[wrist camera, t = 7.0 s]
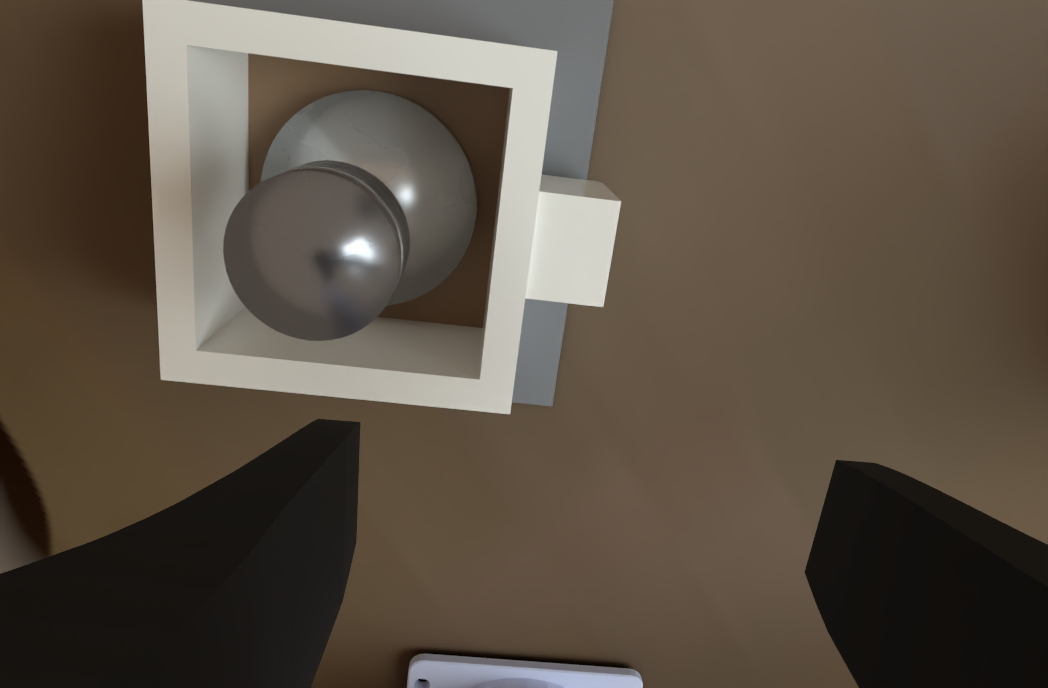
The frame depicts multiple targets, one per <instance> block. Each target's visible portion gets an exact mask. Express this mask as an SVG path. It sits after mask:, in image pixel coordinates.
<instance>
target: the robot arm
mask: <svg viewBox="0 0 1048 688" xmlns="http://www.w3.org/2000/svg"><path fill="white" fill-rule="evenodd" d="M359 443H360V422H350V421H337V420H325V419H317V420H315V421H313V422H311V423H310V424H308V425H306V426H305V427H303V428H302V429H300V430H299V431H297V432H295V433H294V434H292V435H291V436H289V437H288V438H286V439H285V440H283V441H282V442H280V443H279V444H277V445H276V446H274V447H272V448H271V449H269V450H268V451H266V452H265V453H263V454H261V455H260V456H258V457H257V458H255V459H253V460H252V461H250V462H249V463H247V464H246V465H244V466H242V467H241V468H239V469H238V470H236V471H234V472H232V473H231V474H229V475H227V476H225V477H223V478H222V479H220V480H218V481H216V482H215V483H213V484H211V485H209V486H207V487H206V488H204V489H202V490H200V491H198V492H197V493H195V494H193V495H191V496H189V497H188V498H186V499H184V500H182V501H181V502H179V503H177V504H175V505H173V506H171V507H169V508H167V509H165V510H163V511H160V512H158V513H156V514H154V515H152V516H150V517H148V518H146V519H143V520H141V521H139V522H137V523H134V524H132V525H130V526H127V527H125V528H123V529H121V530H118V531H116V532H114V533H111V534H109V535H107V536H104V537H102V538H99V539H97V540H94V541H92V542H89V543H86V544H84V545H81V546H78V547H75V548H72V549H70V550H67V551H64V552H61V553H58V554H56V555H53V556H50V557H47V558H45V559H42V560H39V561H36V562H33V563H31V564H28V565H25V566H22V567H19V568H17V569H14V570H11V571H8V572H4V573H2V574H0V688H310V687H311V685H312V682H313V679H314V677H315V674H316V671H317V669H318V666H319V663H320V661H321V658H322V655H323V653H324V650H325V647H326V645H327V642H328V639H329V637H330V634H331V631H332V628H333V626H334V623H335V620H336V618H337V615H338V612H339V609H340V607H341V604H342V601H343V597H344V593H345V588H346V584H347V580H348V576H349V572H350V567H351V563H352V558H353V554H354V550H355V545H356V534H357V504H358V474H359ZM805 574H806V577H807V580H808V583H809V585H810V588H811V591H812V593H813V596H814V599H815V602H816V604H817V607H818V609H819V611H820V614H821V616H822V619H823V621H824V623H825V626H826V628H827V631H828V633H829V634H830V636H831V638H832V640H833V642H834V644H835V646H836V647H837V649H838V651H839V653H840V654H841V656H842V658H843V660H844V662H845V663H846V665H847V667H848V669H849V671H850V672H851V674H852V676H853V678H854V679H855V681H856V683H857V685H858V686H859V688H1048V545H1047V544H1045V543H1043V542H1041V541H1039V540H1037V539H1035V538H1033V537H1031V536H1028V535H1026V534H1024V533H1022V532H1020V531H1018V530H1016V529H1014V528H1012V527H1010V526H1008V525H1006V524H1004V523H1002V522H1000V521H998V520H996V519H994V518H992V517H990V516H988V515H987V514H985V513H983V512H981V511H979V510H977V509H975V508H973V507H971V506H969V505H967V504H965V503H963V502H961V501H959V500H957V499H955V498H953V497H951V496H949V495H947V494H945V493H943V492H941V491H939V490H937V489H935V488H933V487H931V486H929V485H927V484H924V483H922V482H920V481H918V480H916V479H914V478H912V477H909V476H907V475H905V474H903V473H900V472H898V471H895V470H893V469H890V468H888V467H885V466H882V465H879V464H876V463H868V462H855V461H842V460H836V462H835V466H834V470H833V473H832V477H831V480H830V484H829V487H828V491H827V495H826V498H825V502H824V505H823V509H822V512H821V516H820V520H819V523H818V527H817V530H816V534H815V537H814V541H813V545H812V548H811V552H810V555H809V559H808V562H807V566H806V570H805ZM418 679H426V680H427V681H425V682H422V681H418ZM407 688H643V683H642V679H641V676H640V674H639V672H637V671H636V670H633V669H628V668H615V667H601V666H587V665H574V664H560V663H546V662H533V661H519V660H506V659H492V658H478V657H465V656H451V655H437V654H419V655H416V656H414V657H413V658H412V659H411V661H410V664H409V670H408V680H407Z"/></svg>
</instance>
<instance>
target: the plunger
mask: <svg viewBox="0 0 1048 688" xmlns="http://www.w3.org/2000/svg"><path fill="white" fill-rule="evenodd" d="M476 214H477V193H476V184H475V180H474V175H473V171H472V169H471V166H470V163H469V160H468V158H467V156H466V154H465V152H464V150H463V148H462V146H461V145H460V143H459V142H458V140H457V139H456V138H455V136H454V135H453V133H452V132H451V131H450V130H449V129H448V128H447V127H446V125H445V124H444V123H443V122H442V121H440V120H439V119H438V118H437V117H436V116H435V115H434V114H432V113H431V112H429V111H428V110H426V109H425V108H423V107H422V106H420V105H419V104H417V103H415V102H413V101H411V100H409V99H406V98H404V97H401V96H398V95H395V94H391V93H386V92H381V91H371V90H358V91H345V92H341V93H336V94H332V95H329V96H326V97H324V98H321V99H318V100H316V101H315V102H313V103H311V104H309V105H307V106H305V107H304V108H303V109H301V110H300V111H299V112H297V113H296V114H295V115H294V116H293V117H292V118H291V119H290V120H289V121H288V122H287V123H286V124H285V125H284V126H283V127H282V129H281V130H280V131H279V133H278V134H277V136H276V137H275V139H274V141H273V143H272V144H271V146H270V148H269V150H268V153H267V156H266V159H265V162H264V166H263V170H262V175H261V183H259V184H258V185H256V186H255V187H254V188H252V189H251V190H250V191H248V192H247V193H246V194H245V195H244V196H243V197H242V198H241V200H240V201H239V202H238V204H237V205H236V206H235V208H234V210H233V212H232V214H231V215H230V217H229V220H228V223H227V226H226V229H225V234H224V241H223V255H224V263H225V268H226V272H227V275H228V278H229V281H230V283H231V285H232V287H233V289H234V291H235V293H236V294H237V296H238V297H239V299H240V300H241V302H242V303H243V304H244V306H245V307H246V308H247V309H248V310H249V311H250V312H251V313H252V314H253V315H254V316H255V317H256V318H257V319H259V320H260V321H261V322H263V323H264V324H266V325H267V326H269V327H270V328H272V329H274V330H276V331H278V332H280V333H282V334H285V335H287V336H291V337H294V338H298V339H303V340H309V341H326V340H334V339H339V338H343V337H346V336H349V335H352V334H354V333H356V332H358V331H360V330H361V329H363V328H364V327H366V326H367V325H369V324H370V323H371V322H372V321H373V320H375V319H376V318H377V317H378V316H379V314H380V313H381V312H382V311H383V310H384V308H385V307H386V306H388V305H394V304H399V303H404V302H407V301H410V300H412V299H415V298H418V297H420V296H422V295H424V294H426V293H428V292H429V291H431V290H432V289H434V288H435V287H436V286H438V285H439V284H440V283H441V282H443V281H444V280H445V279H446V278H447V277H448V276H449V275H450V274H451V273H452V271H453V270H454V269H455V268H456V267H457V265H458V264H459V262H460V261H461V259H462V258H463V256H464V254H465V252H466V250H467V248H468V246H469V243H470V240H471V237H472V234H473V231H474V226H475V220H476Z"/></svg>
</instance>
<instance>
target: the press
mask: <svg viewBox="0 0 1048 688" xmlns="http://www.w3.org/2000/svg"><path fill="white" fill-rule="evenodd" d="M142 1H143V21H144V42H145V63H146V84H147V105H148V125H149V146H150V167H151V188H152V209H153V229H154V250H155V271H156V292H157V312H158V333H159V354H160V375H161V380H169V381H179V382H189V383H199V384H209V385H219V386H229V387H239V388H250V389H260V390H270V391H280V392H290V393H300V394H310V395H320V396H331V397H341V398H351V399H361V400H371V401H381V402H391V403H401V404H412V405H422V406H432V407H442V408H452V409H462V410H472V411H482V412H492V413H503V414H510V411H511V403H512V402H514V403H524V404H534V405H544V406H552V405H553V398H554V392H555V385H556V378H557V372H558V365H559V359H560V352H561V345H562V339H563V332H564V326H565V319H566V313H567V306H568V303H571V304H580V305H589V306H598V307H603V305H604V300H605V294H606V288H607V282H608V276H609V270H610V264H611V258H612V252H613V246H614V241H615V235H616V229H617V223H618V217H619V211H620V205H621V201H620V200H619V199H618V198H617V197H616V196H615V195H614V194H613V193H612V192H611V191H610V190H609V189H608V188H607V187H606V186H605V185H604V184H603V183H602V182H598V181H590V180H587V174H588V168H589V161H590V155H591V148H592V142H593V135H594V128H595V122H596V115H597V109H598V102H599V96H600V89H601V82H602V76H603V69H604V63H605V56H606V50H607V43H608V36H609V30H610V23H611V17H612V10H613V3H614V0H142ZM358 90H371V91H381V92H386V93H391V94H395V95H398V96H401V97H404V98H406V99H409V100H411V101H413V102H415V103H417V104H419V105H420V106H422V107H423V108H425V109H426V110H428V111H429V112H431V113H432V114H434V115H435V116H436V117H437V118H438V119H439V120H440V121H442V122H443V123H444V124H445V125H446V127H447V128H448V129H449V130H450V131H451V132H452V133H453V135H454V136H455V138H456V139H457V140H458V142H459V143H460V145H461V146H462V148H463V150H464V152H465V154H466V156H467V158H468V160H469V163H470V166H471V169H472V171H473V175H474V180H475V184H476V193H477V214H476V220H475V226H474V231H473V234H472V237H471V240H470V243H469V246H468V248H467V250H466V252H465V254H464V256H463V258H462V259H461V261H460V262H459V264H458V265H457V267H456V268H455V269H454V270H453V271H452V273H451V274H450V275H449V276H448V277H447V278H446V279H445V280H444V281H443V282H441V283H440V284H439V285H438V286H436V287H435V288H434V289H432V290H431V291H429V292H428V293H426V294H424V295H422V296H420V297H418V298H415V299H412V300H410V301H407V302H404V303H399V304H394V305H388V306H386V307H385V308H384V310H383V311H382V312H381V313H380V314H379V316H378V317H377V318H376V319H375V320H373V321H372V322H371V323H370V324H369V325H367V326H366V327H364V328H363V329H361V330H360V331H358V332H356V333H354V334H352V335H349V336H346V337H343V338H339V339H334V340H326V341H309V340H303V339H298V338H294V337H291V336H287V335H285V334H282V333H280V332H278V331H276V330H274V329H272V328H270V327H269V326H267V325H266V324H264V323H263V322H261V321H260V320H259V319H257V318H256V317H255V316H254V315H253V314H252V313H251V312H250V311H249V310H248V309H247V308H246V307H245V306H244V304H243V303H242V302H241V300H240V299H239V297H238V296H237V294H236V293H235V291H234V289H233V287H232V285H231V283H230V281H229V278H228V275H227V272H226V268H225V263H224V255H223V241H224V234H225V229H226V226H227V223H228V220H229V217H230V215H231V214H232V212H233V210H234V208H235V206H236V205H237V204H238V202H239V201H240V200H241V198H242V197H243V196H244V195H245V194H246V193H247V192H248V191H250V190H251V189H252V188H254V187H255V186H256V185H258V184H259V183H261V175H262V170H263V166H264V162H265V159H266V156H267V153H268V150H269V148H270V146H271V144H272V143H273V141H274V139H275V137H276V136H277V134H278V133H279V131H280V130H281V129H282V127H283V126H284V125H285V124H286V123H287V122H288V121H289V120H290V119H291V118H292V117H293V116H294V115H295V114H296V113H297V112H299V111H300V110H301V109H303V108H304V107H305V106H307V105H309V104H311V103H313V102H315V101H316V100H318V99H321V98H324V97H326V96H329V95H332V94H336V93H341V92H345V91H358Z"/></svg>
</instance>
